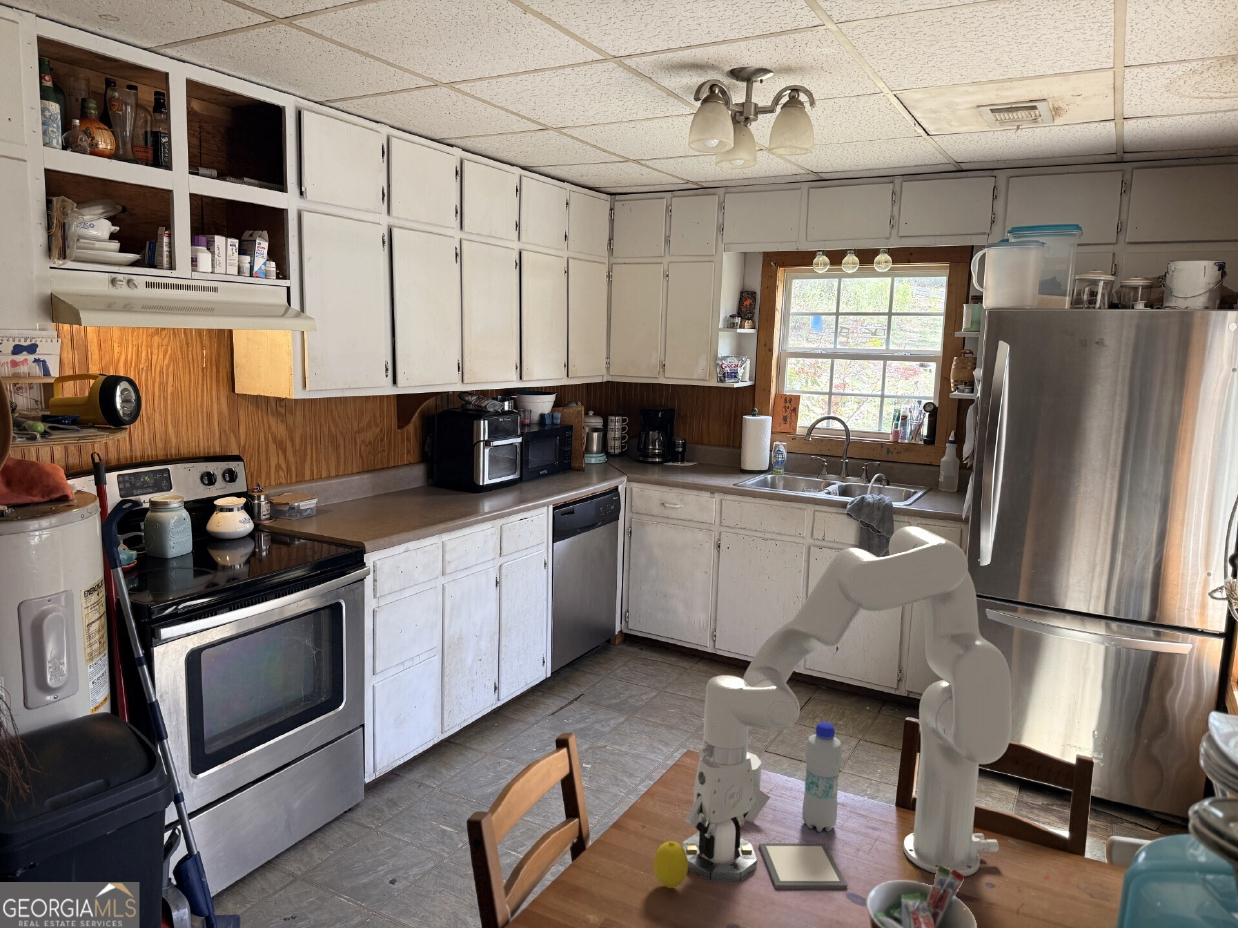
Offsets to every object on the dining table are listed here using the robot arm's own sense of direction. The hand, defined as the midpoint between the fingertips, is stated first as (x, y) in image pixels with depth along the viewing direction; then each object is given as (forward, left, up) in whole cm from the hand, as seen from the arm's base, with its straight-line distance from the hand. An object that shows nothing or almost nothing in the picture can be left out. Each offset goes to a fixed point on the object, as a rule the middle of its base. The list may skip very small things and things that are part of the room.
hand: (719, 848), depth 142 cm
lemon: (+9, +8, -2) cm, 12 cm away
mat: (-14, +2, -2) cm, 14 cm away
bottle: (-21, -11, -2) cm, 24 cm away
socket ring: (0, 0, -2) cm, 2 cm away
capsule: (0, 0, -2) cm, 2 cm away
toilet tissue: (-7, -18, -2) cm, 20 cm away
